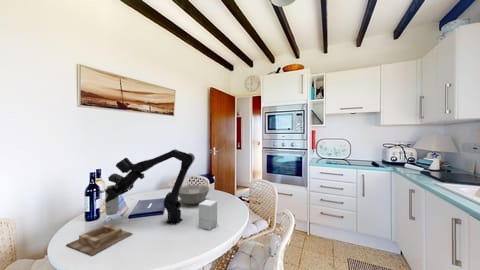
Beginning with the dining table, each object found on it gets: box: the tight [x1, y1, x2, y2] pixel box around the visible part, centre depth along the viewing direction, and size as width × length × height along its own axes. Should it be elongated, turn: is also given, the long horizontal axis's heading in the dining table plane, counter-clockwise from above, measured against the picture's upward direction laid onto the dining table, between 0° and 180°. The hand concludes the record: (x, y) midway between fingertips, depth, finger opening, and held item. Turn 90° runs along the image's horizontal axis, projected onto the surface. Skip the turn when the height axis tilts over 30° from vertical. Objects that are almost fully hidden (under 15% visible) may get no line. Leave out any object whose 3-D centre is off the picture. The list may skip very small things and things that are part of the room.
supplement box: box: [198, 199, 218, 231], centre depth 103 cm, size 7×7×13 cm
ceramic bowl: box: [178, 184, 210, 205], centre depth 136 cm, size 22×23×10 cm
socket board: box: [65, 224, 134, 257], centre depth 89 cm, size 18×18×4 cm
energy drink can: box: [104, 184, 120, 216], centre depth 105 cm, size 6×6×15 cm
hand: (109, 199), depth 105 cm, fingers closed on energy drink can, 6 cm apart
